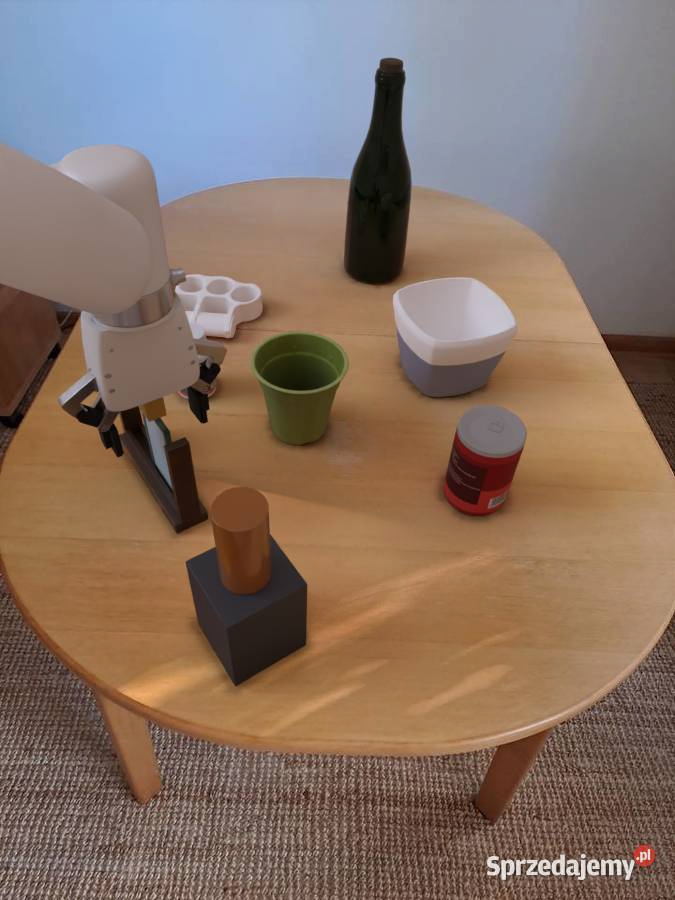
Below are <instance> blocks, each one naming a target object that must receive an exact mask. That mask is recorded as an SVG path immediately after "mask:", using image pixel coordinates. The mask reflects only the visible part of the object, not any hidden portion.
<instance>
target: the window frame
mask: <svg viewBox="0 0 675 900" xmlns="http://www.w3.org/2000/svg"><path fill="white" fill-rule="evenodd" d="M118 416H119V419H120V423H121V428H122V431H123V432H122V433H119V437H120V441H121V444H122V448H123V452H124V453H125V454H126V456H127V457H128V459H129V460H130V462H131V463H132V465H133V467H134V468H135V470H136V472H137V473H138V474H139V476H140V478H141V479H142V481H143V483H144V484H145V486H146V487H147V489H148V490H149V492H150V494H151V496H152V497H153V499H154V500H155V501H156V503H157V505H158V506H159V508H160V510H161V511H162V513H163V515H164V516H165V518H166V519H167V521H168V522H169V524H170V525H171V527H172V529H173V530H174V532H175V533H176V535H178V534H180V533H182V532H184V531H186V530H188V529H191V528H193V527H195V526H197V525H200V524H201V523H203V522H206V521H208V520H209V519H210V517H209V511H208V509H207V508H206V506H205V505H204V504H203V502H202V501H201V499H200V498H199V493H198V487H197V479H196V473H195V469H194V462H193V456H192V450H191V444H190V441H189V440H188V439H187V437H185V436H184V437H182V438H179V439H176V440H174V441H172V442H171V443H169V444H167V445H164V450H165V455H166V460H167V465H168V470H169V475H170V479H171V484H172V489H173V493H172V491H171V490H170V488H169V487H168V485H167V484H166V482H165V481H164V479H163V478H162V476H161V474H160V473H159V471H158V470H157V468H156V467H155V465H154V464H153V460H152V455H151V451H150V446H149V442H148V438H147V433H146V429H145V424H144V420H143V416H142V411H141V410H140V407H139V406H136V407H134V408H131V409H127V410H124V411H120V412H119V414H118Z"/></svg>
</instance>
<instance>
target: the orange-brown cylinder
mask: <svg viewBox="0 0 675 900" xmlns="http://www.w3.org/2000/svg"><path fill="white" fill-rule="evenodd" d="M209 510H210V511H209V512H210V513H209V514H210V519H211V526H212V532H213V540H214V547H216V554H217V561H218V568H219V574H220V579H221V582H222V584H223V585H224V586H225V587H226V588H227V589H228V590H229V591H231V592H233V593H236V594H242V595H246V594H252V593H255V592H257V591H259V590H261V589H262V588H264V587H265V586H266V585H267V583H268V582H269V580H270V578H271V574H272V565H271V545H270V534H271V525H270V505H269V502H268V499H267V498H266V497H265V496H264V494H263V493H262V492H261V491H259V490H257V489H255V488H253V487H248V486H233V487H231V488H227V489H225V490H223V491H222V492H220V493H219V494H218V495H216V497H215V498H214V499H213V500H212V503H211V505H210V507H209Z"/></svg>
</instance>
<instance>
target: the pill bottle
mask: <svg viewBox="0 0 675 900" xmlns="http://www.w3.org/2000/svg"><path fill="white" fill-rule="evenodd" d="M189 324H190V328H191V331H192V334H193V338H194V339H202V340H208V339H207V336H206V335H205V330H204V328H203V327H202V326H201V325H199V324H196V323H189ZM207 358H208V357H207V356H203V355H198V360H199V368H200V366H201V365H202V364H203V362H204V361H205V360H206V359H207ZM211 387H212V389H211V391H210V392H209V393H208V398H210V397H212V396H213V394H214V393H215V392H216V390H217V387H218V385H217V377H216V378H215V379H214V381H213V382H212V383H211ZM177 393H178V394H179V395H180V396H181V397H182V398H184V399H185V400H188V401H189V399H188V393H187V388H185V389H182V390H180V391H177Z"/></svg>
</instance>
